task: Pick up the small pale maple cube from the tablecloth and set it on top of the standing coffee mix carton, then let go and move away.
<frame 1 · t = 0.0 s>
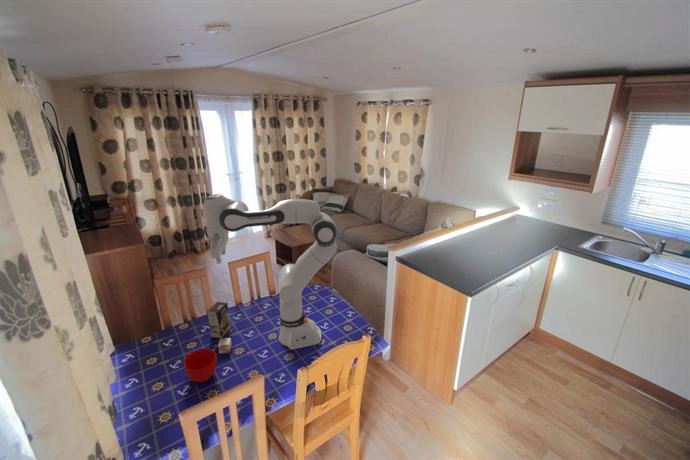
hand: (221, 258, 148), 48 cm above the table, tool pointing down, fingers open, 8 cm apart
maple cube: (225, 349, 160), on the table
coffee box: (221, 332, 172), on the table
ceramic cup: (200, 375, 144), on the table
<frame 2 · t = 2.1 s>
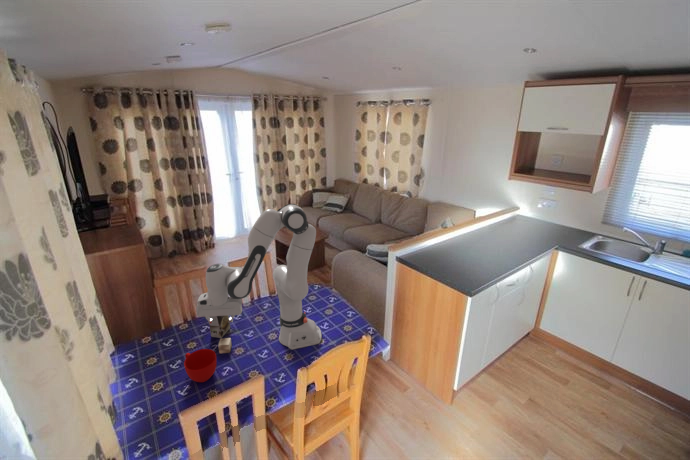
hand: (221, 322, 154), 17 cm above the table, tool pointing down, fingers open, 8 cm apart
nothing on the table moved.
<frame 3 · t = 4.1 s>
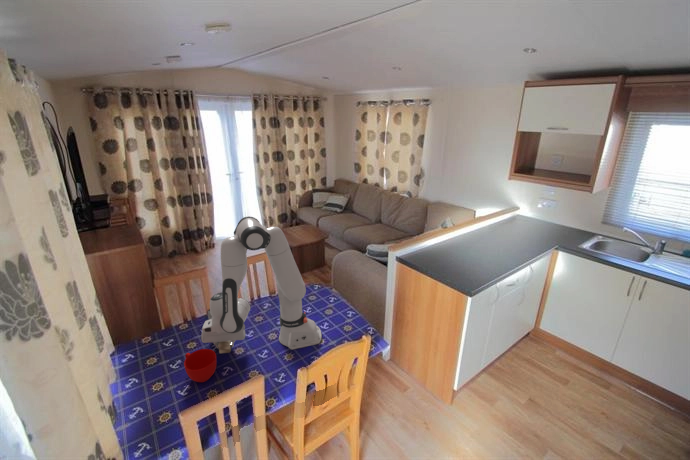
hand: (225, 346, 159), 2 cm above the table, tool pointing down, fingers closed on maple cube, 5 cm apart
maple cube: (225, 349, 160), on the table, touching gripper
everything else where it was.
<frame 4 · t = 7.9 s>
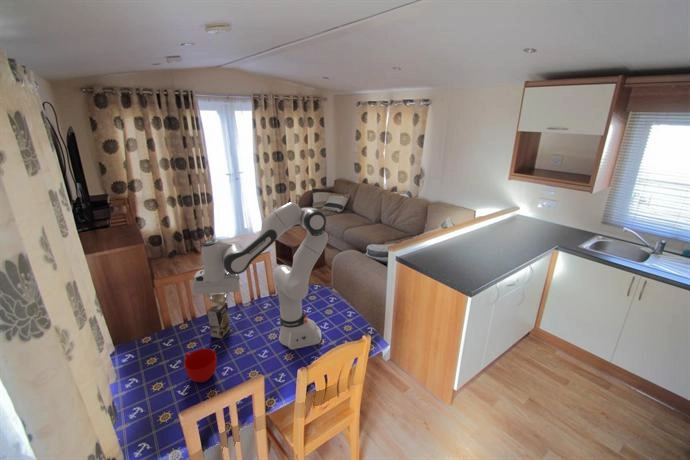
hand: (218, 299, 149), 29 cm above the table, tool pointing down, fingers closed on maple cube, 5 cm apart
maple cube: (219, 302, 150), point 27 cm above the table, touching gripper
everything else where it was.
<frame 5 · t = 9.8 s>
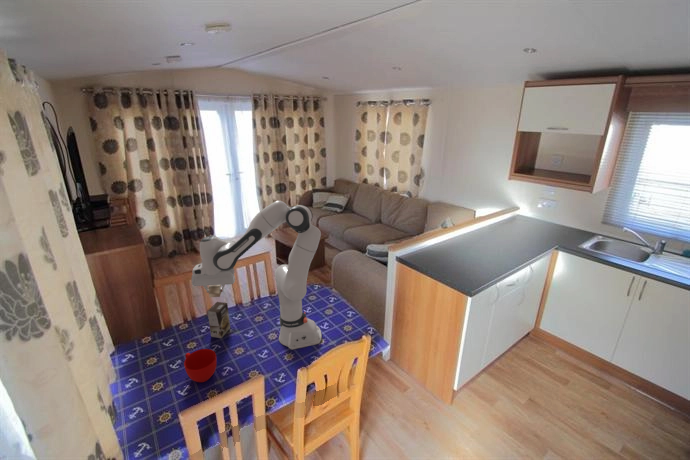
hand: (215, 291, 163), 25 cm above the table, tool pointing down, fingers closed on maple cube, 5 cm apart
maple cube: (215, 294, 163), point 24 cm above the table, touching gripper
everything else where it was.
when the fingers open (20 cm above the table, at t = 11.6 s): maple cube drops 2 cm, resting on coffee box.
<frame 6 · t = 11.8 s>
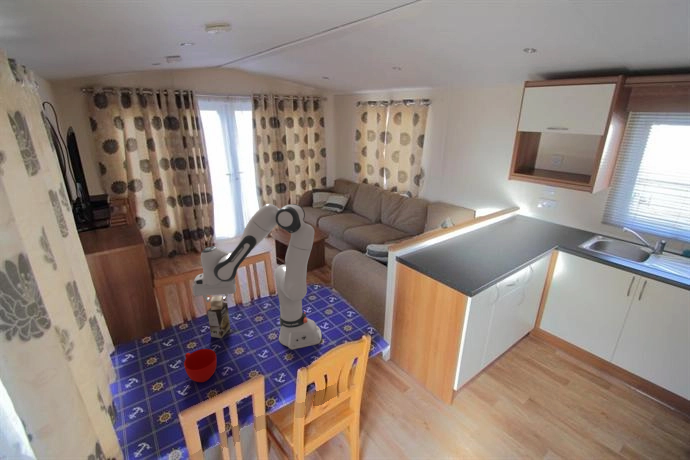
hand: (216, 301, 165), 20 cm above the table, tool pointing down, fingers open, 7 cm apart
maple cube: (217, 306, 166), point 16 cm above the table, touching coffee box
coffee box: (221, 332, 172), on the table, touching maple cube
everything else where it was.
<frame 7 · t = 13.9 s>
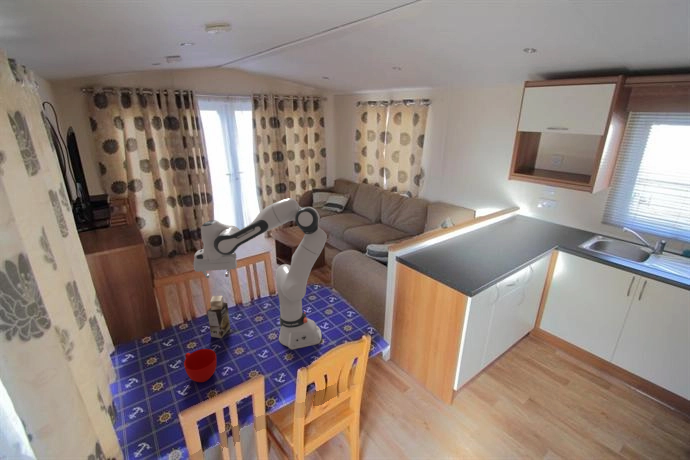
hand: (217, 277, 163), 32 cm above the table, tool pointing down, fingers open, 8 cm apart
nothing on the table moved.
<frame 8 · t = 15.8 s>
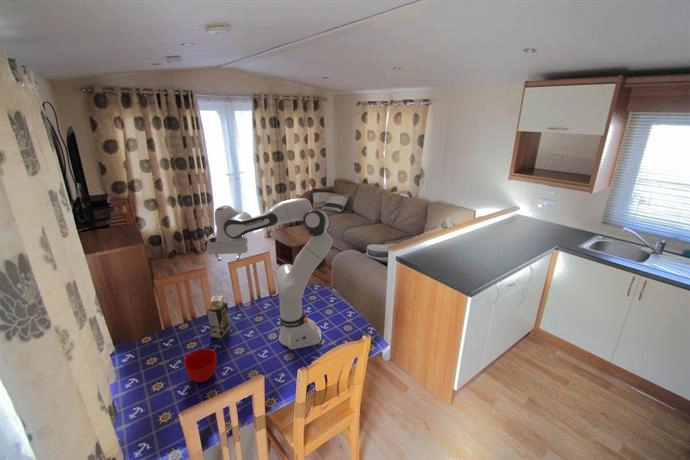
hand: (229, 260, 170), 37 cm above the table, tool pointing down, fingers open, 8 cm apart
nothing on the table moved.
at the end: maple cube inside the target area on the coffee box (0.1 cm from its centre), point 16.3 cm above the coffee box's base; the gripper is holding nothing; coffee box tilted 0° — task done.
